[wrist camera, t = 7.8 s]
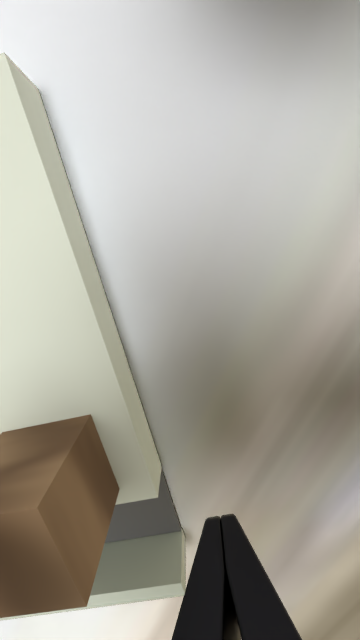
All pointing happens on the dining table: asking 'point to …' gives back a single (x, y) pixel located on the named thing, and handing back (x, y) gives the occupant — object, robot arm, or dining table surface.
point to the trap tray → (74, 351)
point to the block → (52, 515)
